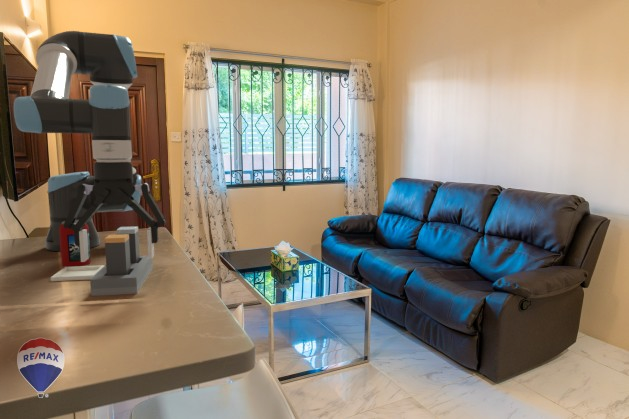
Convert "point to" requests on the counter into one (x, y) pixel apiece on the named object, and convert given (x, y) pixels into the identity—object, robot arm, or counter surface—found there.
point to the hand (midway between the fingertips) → (118, 259)
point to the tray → (76, 273)
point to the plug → (117, 255)
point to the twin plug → (132, 242)
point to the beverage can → (71, 247)
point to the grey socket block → (122, 279)
